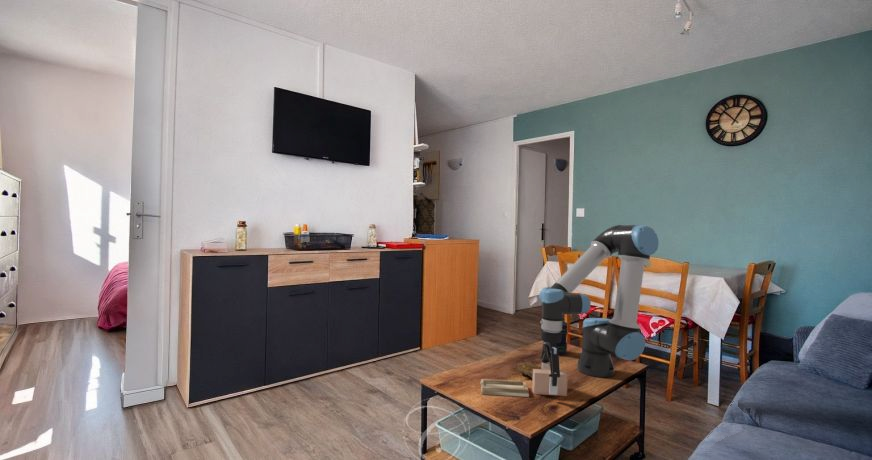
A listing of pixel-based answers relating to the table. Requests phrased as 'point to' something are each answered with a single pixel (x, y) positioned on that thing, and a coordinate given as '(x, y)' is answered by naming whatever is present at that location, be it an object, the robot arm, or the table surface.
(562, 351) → the storage jar
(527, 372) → the decorative rock
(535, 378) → the clay block
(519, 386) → the cream rectangular tray
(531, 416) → the table surface
